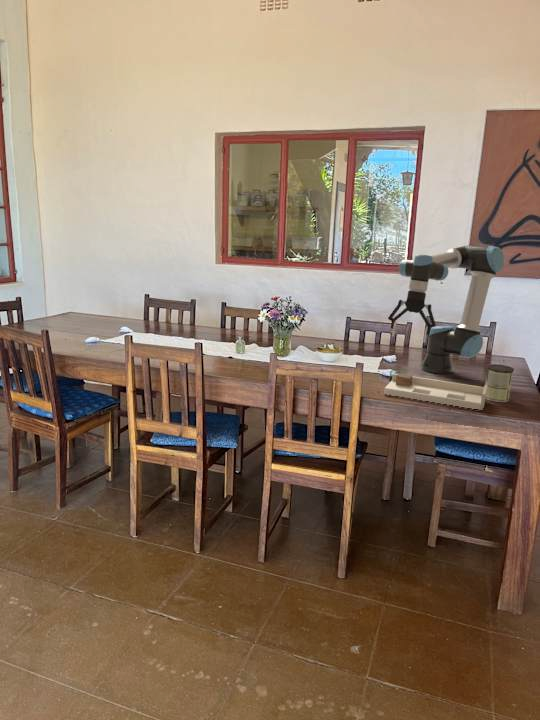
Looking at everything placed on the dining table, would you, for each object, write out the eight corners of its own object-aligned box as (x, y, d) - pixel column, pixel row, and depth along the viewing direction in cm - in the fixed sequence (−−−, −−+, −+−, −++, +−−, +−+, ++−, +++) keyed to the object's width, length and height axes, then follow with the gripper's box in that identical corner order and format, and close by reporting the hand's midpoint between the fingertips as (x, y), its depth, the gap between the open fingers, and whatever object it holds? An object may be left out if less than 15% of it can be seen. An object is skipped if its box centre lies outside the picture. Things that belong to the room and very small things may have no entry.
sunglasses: (392, 377, 254) (394, 367, 253) (422, 385, 248) (425, 375, 247) (384, 384, 242) (386, 374, 241) (416, 393, 236) (418, 382, 235)
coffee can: (479, 394, 232) (483, 363, 228) (502, 395, 232) (506, 364, 229) (489, 402, 222) (494, 370, 218) (513, 402, 222) (518, 370, 219)
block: (397, 381, 235) (398, 373, 234) (411, 384, 233) (412, 375, 232) (395, 384, 231) (396, 375, 230) (409, 386, 228) (410, 378, 227)
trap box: (391, 386, 239) (393, 371, 237) (485, 401, 223) (487, 385, 221) (384, 394, 226) (385, 379, 224) (482, 411, 210) (485, 394, 208)
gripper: (387, 286, 227) (378, 334, 230) (446, 295, 218) (436, 345, 221) (390, 287, 234) (381, 333, 237) (447, 295, 224) (438, 343, 228)
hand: (408, 339), depth 229 cm, fingers open, 13 cm apart
